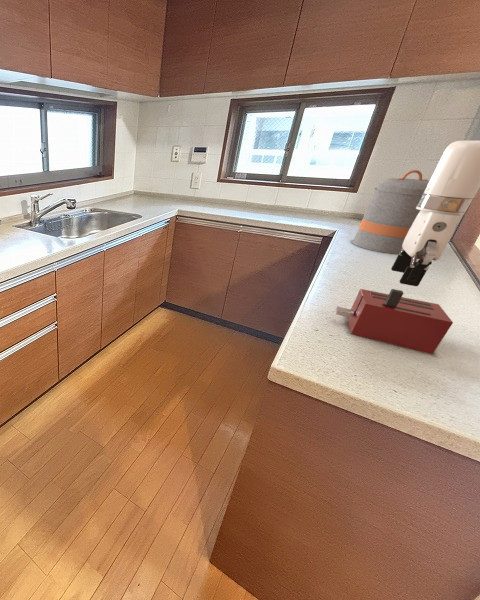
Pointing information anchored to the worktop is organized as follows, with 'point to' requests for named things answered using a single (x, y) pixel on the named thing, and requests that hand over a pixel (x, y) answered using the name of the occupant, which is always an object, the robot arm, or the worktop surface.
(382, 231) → the storage container
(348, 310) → the brushed metal plate
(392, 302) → the slider
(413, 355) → the worktop surface
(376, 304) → the toaster
